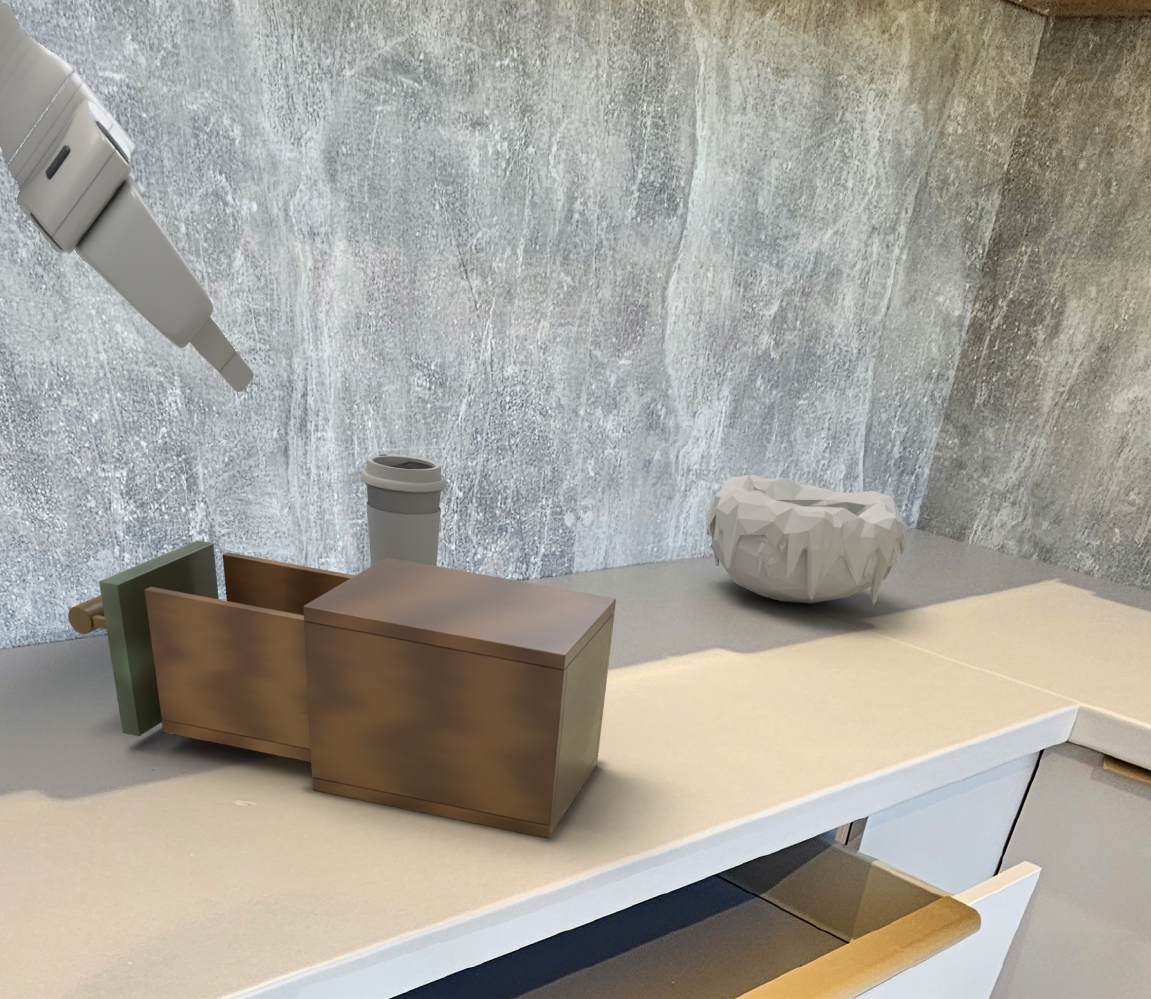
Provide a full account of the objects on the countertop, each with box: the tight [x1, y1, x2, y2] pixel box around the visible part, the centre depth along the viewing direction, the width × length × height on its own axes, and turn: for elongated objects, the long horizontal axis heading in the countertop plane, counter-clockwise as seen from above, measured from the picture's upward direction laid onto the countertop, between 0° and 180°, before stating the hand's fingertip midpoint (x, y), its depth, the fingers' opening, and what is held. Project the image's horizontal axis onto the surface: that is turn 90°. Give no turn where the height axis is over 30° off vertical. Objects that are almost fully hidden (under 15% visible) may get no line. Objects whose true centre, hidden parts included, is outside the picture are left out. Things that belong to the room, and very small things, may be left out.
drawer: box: [67, 540, 356, 763], centre depth 75 cm, size 19×12×9 cm, turn 76°
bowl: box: [705, 474, 907, 607], centre depth 118 cm, size 21×20×10 cm
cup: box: [360, 453, 448, 567], centre depth 97 cm, size 7×7×12 cm
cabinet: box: [303, 557, 617, 839], centre depth 74 cm, size 16×14×11 cm
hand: (239, 373), depth 86 cm, fingers open, 8 cm apart
